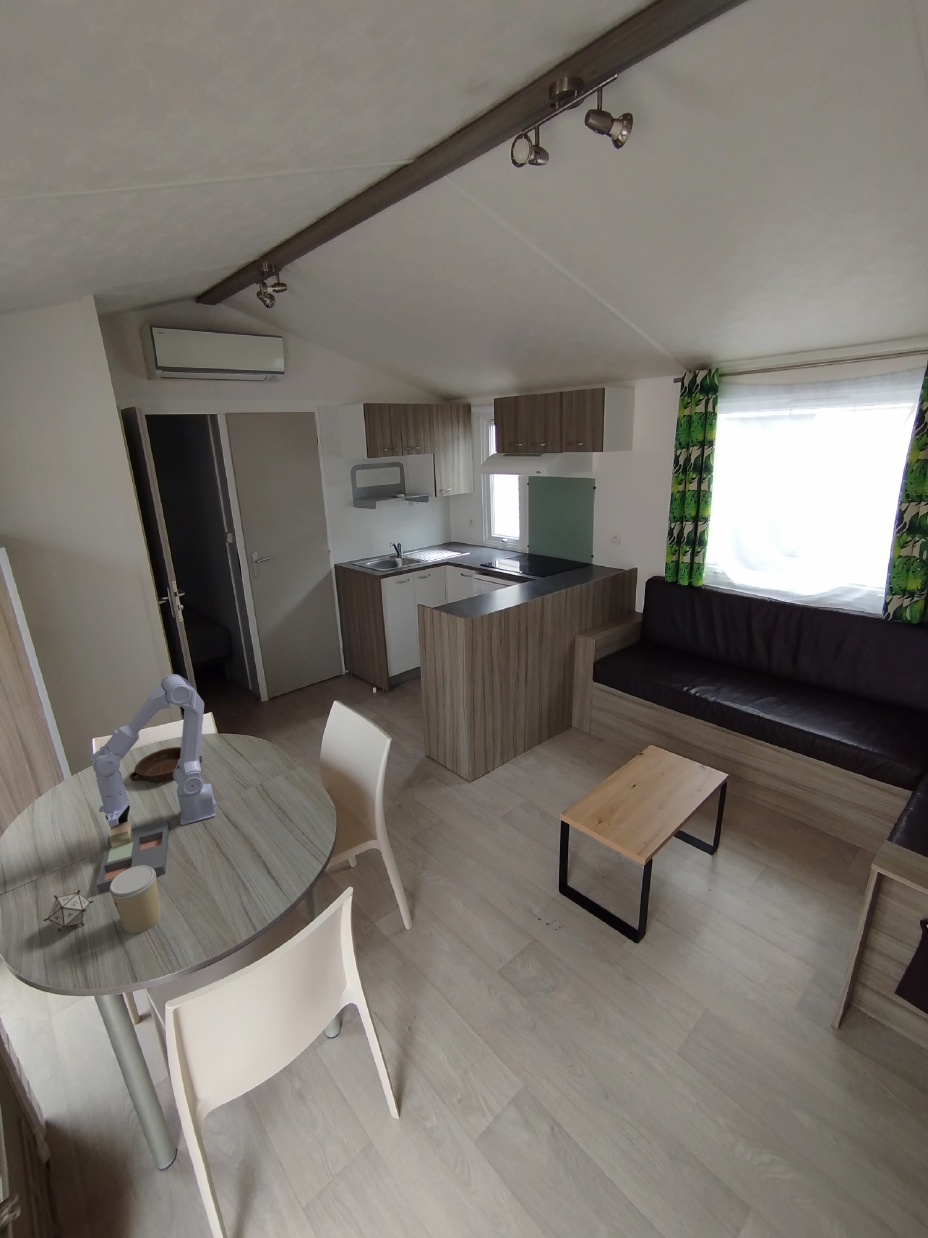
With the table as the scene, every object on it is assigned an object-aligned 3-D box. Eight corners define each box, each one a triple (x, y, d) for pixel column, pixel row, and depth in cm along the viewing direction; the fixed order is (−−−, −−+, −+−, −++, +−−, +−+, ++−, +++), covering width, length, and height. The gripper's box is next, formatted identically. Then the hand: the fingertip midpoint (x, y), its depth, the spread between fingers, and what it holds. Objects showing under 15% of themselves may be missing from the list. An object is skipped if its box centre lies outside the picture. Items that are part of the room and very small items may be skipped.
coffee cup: (131, 906, 137) (121, 866, 133) (171, 902, 137) (161, 862, 134) (112, 938, 128) (100, 896, 124) (154, 934, 128) (144, 892, 125)
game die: (78, 941, 132) (61, 935, 124) (47, 926, 132) (28, 919, 124) (106, 902, 137) (91, 894, 129) (75, 888, 138) (59, 879, 130)
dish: (130, 771, 194) (127, 758, 193) (199, 751, 205) (196, 739, 204) (132, 796, 180) (129, 783, 179) (206, 774, 191) (203, 761, 189)
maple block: (132, 832, 159) (129, 821, 157) (131, 843, 155) (127, 831, 153) (114, 837, 157) (111, 825, 156) (112, 848, 153) (108, 836, 152)
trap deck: (169, 826, 165) (167, 819, 164) (165, 873, 147) (163, 865, 146) (110, 841, 159) (108, 834, 159) (98, 893, 141) (96, 885, 140)
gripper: (100, 780, 159) (110, 821, 163) (90, 810, 146) (102, 853, 150) (128, 774, 161) (138, 814, 165) (121, 802, 149) (132, 845, 153)
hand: (123, 832), depth 158 cm, fingers closed, pressing on maple block
